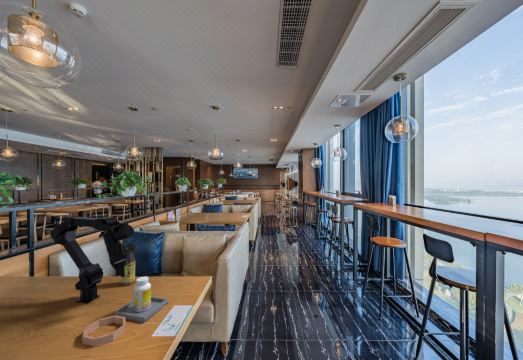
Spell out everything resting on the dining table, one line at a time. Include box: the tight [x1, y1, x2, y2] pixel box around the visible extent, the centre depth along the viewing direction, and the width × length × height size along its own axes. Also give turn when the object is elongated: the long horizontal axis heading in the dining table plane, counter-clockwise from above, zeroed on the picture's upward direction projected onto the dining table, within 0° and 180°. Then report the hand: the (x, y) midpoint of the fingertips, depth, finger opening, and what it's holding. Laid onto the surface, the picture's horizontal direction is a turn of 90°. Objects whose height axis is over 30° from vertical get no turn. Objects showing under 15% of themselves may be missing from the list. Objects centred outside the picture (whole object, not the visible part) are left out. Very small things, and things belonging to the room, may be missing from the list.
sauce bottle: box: [121, 252, 136, 287], centre depth 122 cm, size 7×6×20 cm
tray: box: [113, 295, 169, 323], centre depth 97 cm, size 15×15×2 cm
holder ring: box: [81, 314, 127, 348], centre depth 82 cm, size 13×13×2 cm
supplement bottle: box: [133, 276, 152, 312], centre depth 97 cm, size 7×7×13 cm
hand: (122, 276), depth 102 cm, fingers open, 9 cm apart
